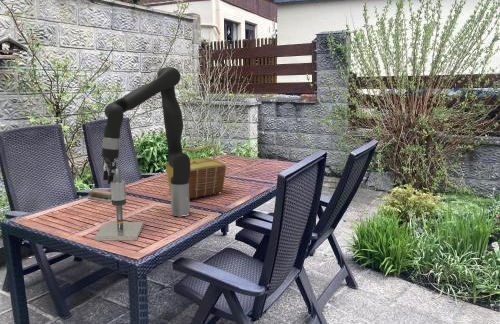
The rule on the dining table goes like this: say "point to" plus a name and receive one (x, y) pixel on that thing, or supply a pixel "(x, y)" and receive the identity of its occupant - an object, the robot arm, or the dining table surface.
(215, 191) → the picnic basket
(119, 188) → the metal sleeve
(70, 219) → the dining table surface
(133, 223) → the pipe stand
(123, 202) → the black hex nut
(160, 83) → the robot arm
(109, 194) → the packaged product
